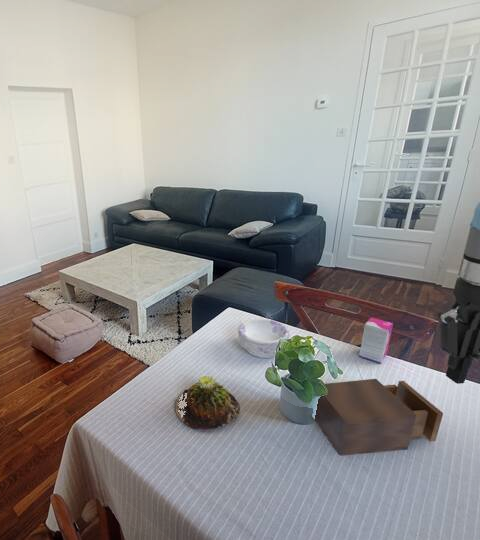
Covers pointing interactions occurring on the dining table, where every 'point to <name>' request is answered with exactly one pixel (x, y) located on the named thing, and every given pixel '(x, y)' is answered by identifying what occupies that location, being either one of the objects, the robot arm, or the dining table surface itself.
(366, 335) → the supplement box
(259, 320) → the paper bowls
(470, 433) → the dining table surface
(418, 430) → the drawer
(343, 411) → the cabinet
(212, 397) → the cactus
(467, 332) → the robot arm
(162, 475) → the dining table surface
